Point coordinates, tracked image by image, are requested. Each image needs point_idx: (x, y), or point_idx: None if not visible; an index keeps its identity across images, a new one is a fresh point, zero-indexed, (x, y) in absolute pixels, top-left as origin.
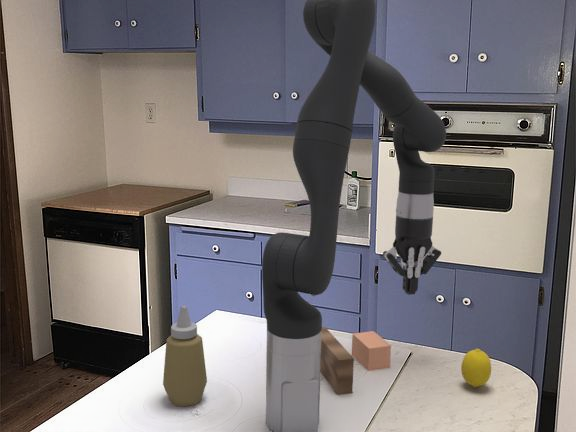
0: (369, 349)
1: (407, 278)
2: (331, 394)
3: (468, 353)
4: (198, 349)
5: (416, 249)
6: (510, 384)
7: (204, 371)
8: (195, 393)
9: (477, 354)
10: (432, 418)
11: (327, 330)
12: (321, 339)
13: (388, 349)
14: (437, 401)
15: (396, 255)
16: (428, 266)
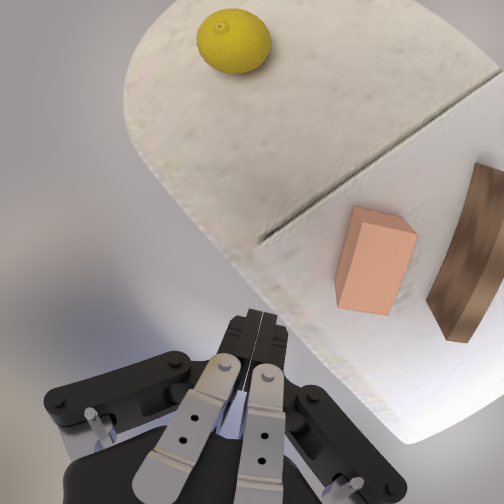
0: (415, 234)
1: (276, 370)
2: None
3: (244, 40)
4: None
5: (194, 501)
6: (171, 45)
7: None
8: None
9: (234, 17)
10: (403, 16)
11: (458, 323)
12: (496, 290)
13: (366, 220)
14: (359, 45)
15: (335, 495)
16: (146, 375)
